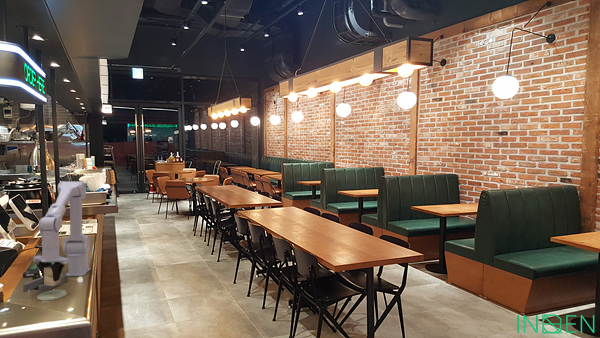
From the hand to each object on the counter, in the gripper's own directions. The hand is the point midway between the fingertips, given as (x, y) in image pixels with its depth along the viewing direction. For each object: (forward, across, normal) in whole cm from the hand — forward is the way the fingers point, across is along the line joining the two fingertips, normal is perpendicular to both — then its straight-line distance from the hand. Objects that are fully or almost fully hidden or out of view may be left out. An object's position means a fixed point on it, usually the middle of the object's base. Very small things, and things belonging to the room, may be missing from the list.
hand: (51, 280), depth 156 cm
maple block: (+2, 0, 0) cm, 2 cm away
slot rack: (+6, -10, +7) cm, 14 cm away
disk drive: (+7, -27, +23) cm, 36 cm away
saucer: (+6, 0, 0) cm, 6 cm away
